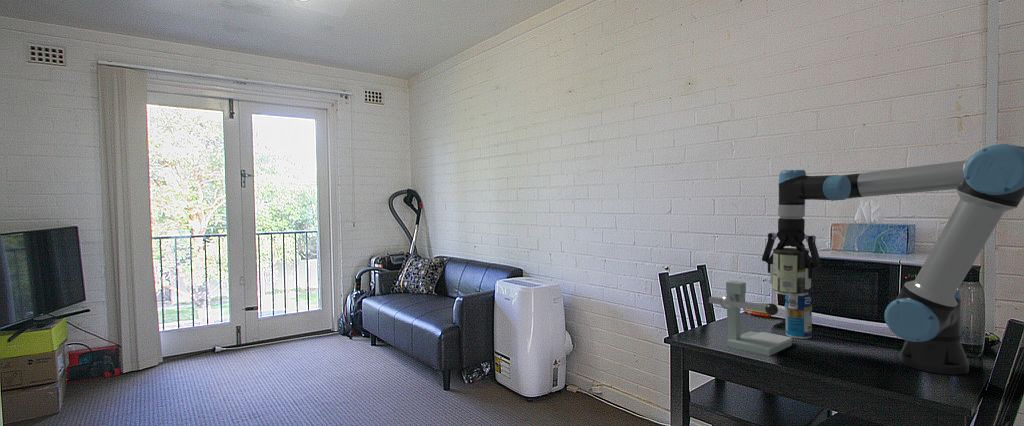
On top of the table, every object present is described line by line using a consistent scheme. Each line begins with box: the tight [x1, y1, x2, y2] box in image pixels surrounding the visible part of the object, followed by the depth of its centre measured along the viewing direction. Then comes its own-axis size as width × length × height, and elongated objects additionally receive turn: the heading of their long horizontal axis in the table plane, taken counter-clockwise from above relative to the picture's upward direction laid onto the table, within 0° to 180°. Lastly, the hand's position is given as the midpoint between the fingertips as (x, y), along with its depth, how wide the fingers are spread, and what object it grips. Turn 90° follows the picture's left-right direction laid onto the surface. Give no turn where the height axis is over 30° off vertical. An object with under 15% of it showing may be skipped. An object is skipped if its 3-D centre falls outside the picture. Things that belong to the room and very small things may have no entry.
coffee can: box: [772, 247, 810, 296], centre depth 161 cm, size 10×10×14 cm
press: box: [725, 280, 793, 357], centre depth 166 cm, size 15×18×21 cm
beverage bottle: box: [784, 288, 813, 340], centre depth 175 cm, size 8×8×20 cm
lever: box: [708, 295, 779, 316], centre depth 161 cm, size 22×4×4 cm, turn 38°
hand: (790, 285), depth 161 cm, fingers closed on coffee can, 10 cm apart
